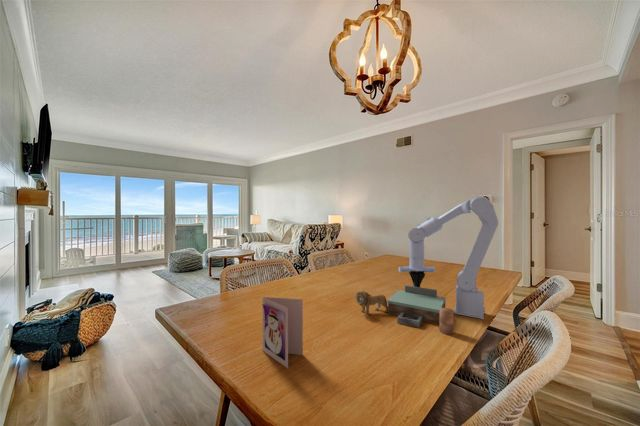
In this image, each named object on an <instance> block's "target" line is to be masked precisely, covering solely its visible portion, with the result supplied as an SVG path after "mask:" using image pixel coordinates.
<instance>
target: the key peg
mask: <svg viewBox="0 0 640 426" xmlns="http://www.w3.org/2000/svg"><path fill="white" fill-rule="evenodd" d="M438 325H439V332H440V333H441V334H443V335H447V336H451V335H453V334H454V310H453V309H452V308H448V307H445V308H440V324H438Z"/></svg>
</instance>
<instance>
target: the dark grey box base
mask: <svg viewBox="0 0 640 426" xmlns="http://www.w3.org/2000/svg"><path fill="white" fill-rule="evenodd" d="M387 306H388V312H387V313H388V314H391V315H396V316H397V318H396V319H397V322H396V323H397V324H400V325H404V326H409V327H414V328H418V329H420V328H421V326H422V324H423V322H424V321H425V322H429V323H433V324H438V325H440V313H437V312H432V311H426V310H421V309H416V308H411V307H406V306H401V305H396V304H390V303H387ZM442 308H446V301H445V302H444V305H443V307H442Z"/></svg>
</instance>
